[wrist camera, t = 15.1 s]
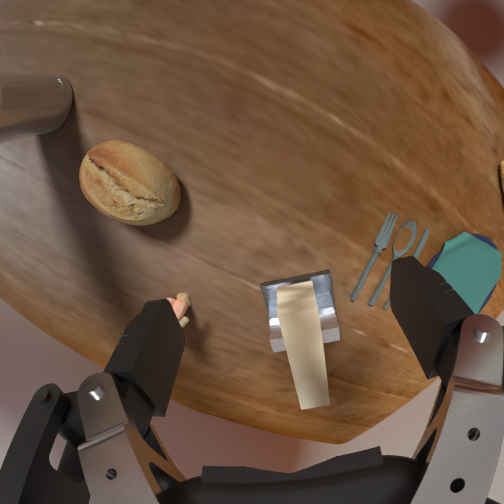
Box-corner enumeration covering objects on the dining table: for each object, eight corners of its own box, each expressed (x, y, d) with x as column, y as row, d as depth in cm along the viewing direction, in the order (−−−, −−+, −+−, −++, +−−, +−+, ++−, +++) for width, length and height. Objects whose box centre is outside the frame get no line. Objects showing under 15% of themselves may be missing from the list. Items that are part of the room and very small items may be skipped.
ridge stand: (275, 333, 45) (275, 370, 38) (260, 283, 41) (258, 318, 34) (335, 321, 43) (344, 357, 36) (329, 269, 39) (340, 302, 32)
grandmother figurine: (182, 282, 42) (155, 340, 30) (200, 299, 43) (179, 359, 32) (154, 307, 44) (125, 362, 33) (171, 322, 46) (147, 378, 34)
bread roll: (105, 124, 32) (70, 128, 25) (199, 165, 34) (180, 178, 27) (86, 185, 36) (54, 201, 29) (171, 228, 38) (150, 254, 31)
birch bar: (299, 382, 39) (301, 409, 35) (276, 287, 32) (277, 315, 27) (325, 378, 38) (329, 404, 34) (311, 280, 31) (318, 307, 27)
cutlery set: (458, 333, 45) (463, 340, 43) (339, 303, 43) (342, 312, 41) (508, 250, 36) (515, 255, 34) (395, 185, 34) (402, 189, 32)
